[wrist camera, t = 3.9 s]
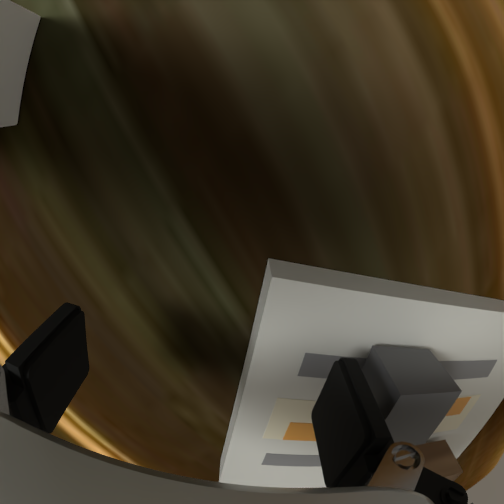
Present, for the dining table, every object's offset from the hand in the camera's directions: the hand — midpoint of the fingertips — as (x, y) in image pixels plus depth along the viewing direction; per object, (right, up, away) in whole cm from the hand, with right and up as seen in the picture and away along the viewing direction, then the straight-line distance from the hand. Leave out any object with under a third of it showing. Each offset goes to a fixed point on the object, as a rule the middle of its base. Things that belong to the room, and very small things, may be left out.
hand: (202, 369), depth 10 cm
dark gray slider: (+8, -1, +1) cm, 8 cm away
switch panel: (+10, -4, +5) cm, 12 cm away
